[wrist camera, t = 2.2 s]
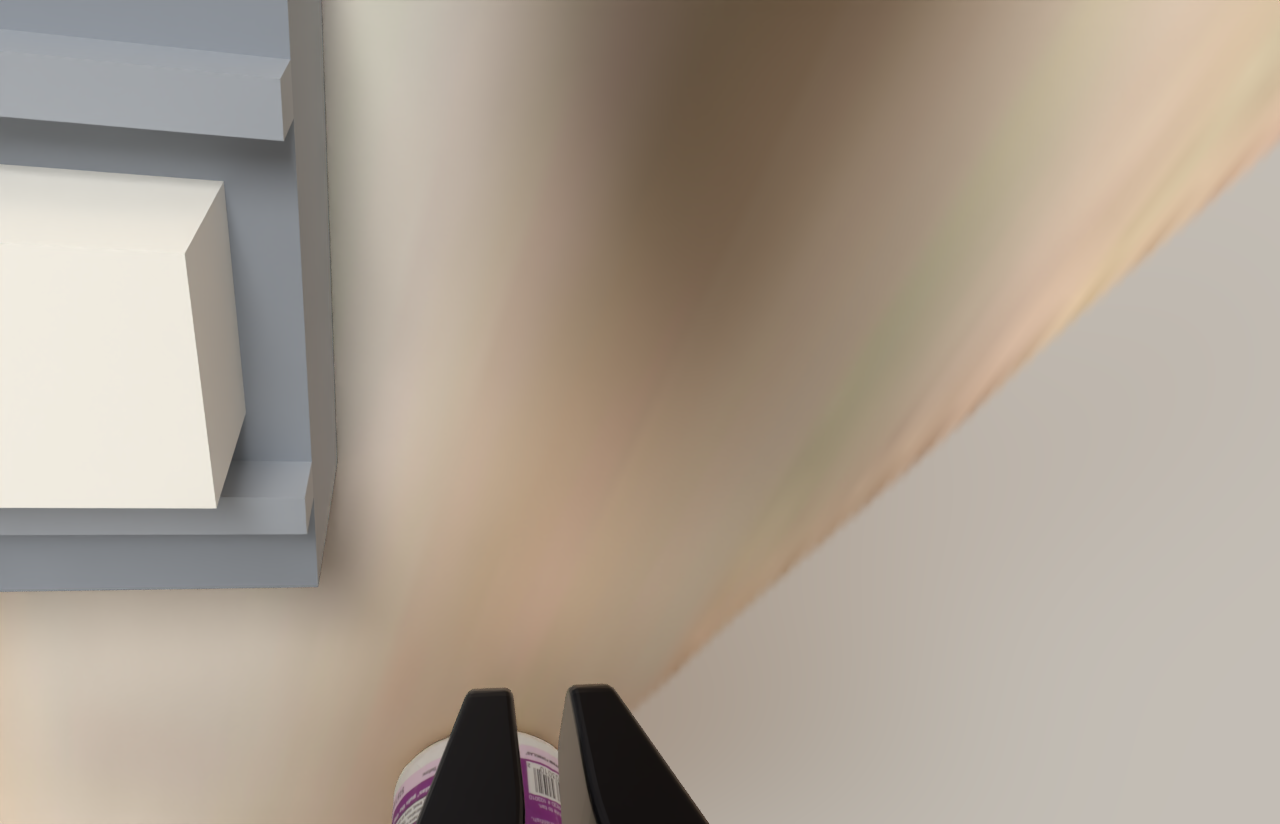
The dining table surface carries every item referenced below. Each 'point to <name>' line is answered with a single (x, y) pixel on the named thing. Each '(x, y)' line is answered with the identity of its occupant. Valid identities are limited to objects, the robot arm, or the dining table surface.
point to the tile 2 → (115, 340)
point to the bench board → (260, 254)
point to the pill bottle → (536, 775)
